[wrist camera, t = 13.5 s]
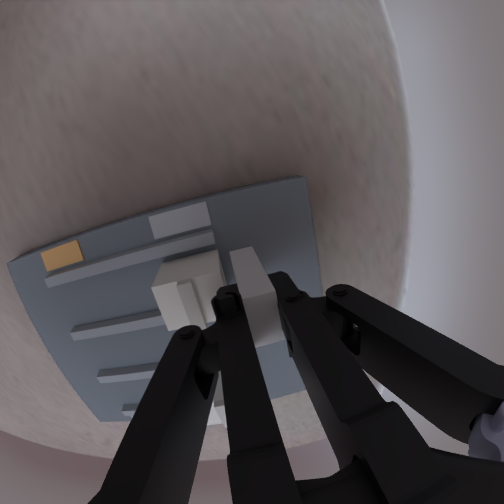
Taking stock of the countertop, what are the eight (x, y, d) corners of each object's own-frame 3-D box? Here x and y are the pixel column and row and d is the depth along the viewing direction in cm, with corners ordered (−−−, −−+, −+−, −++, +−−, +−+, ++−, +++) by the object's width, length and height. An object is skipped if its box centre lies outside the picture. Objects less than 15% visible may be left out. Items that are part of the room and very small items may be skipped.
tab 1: (174, 300, 19) (167, 336, 15) (161, 263, 18) (149, 292, 14) (227, 287, 19) (233, 322, 15) (217, 249, 18) (220, 275, 14)
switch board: (103, 409, 25) (98, 427, 22) (18, 256, 18) (0, 267, 15) (321, 369, 27) (331, 388, 24) (296, 175, 20) (310, 177, 17)
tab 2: (204, 392, 22) (206, 431, 18) (194, 370, 21) (193, 410, 17) (246, 384, 23) (254, 422, 18) (238, 361, 22) (246, 400, 17)
